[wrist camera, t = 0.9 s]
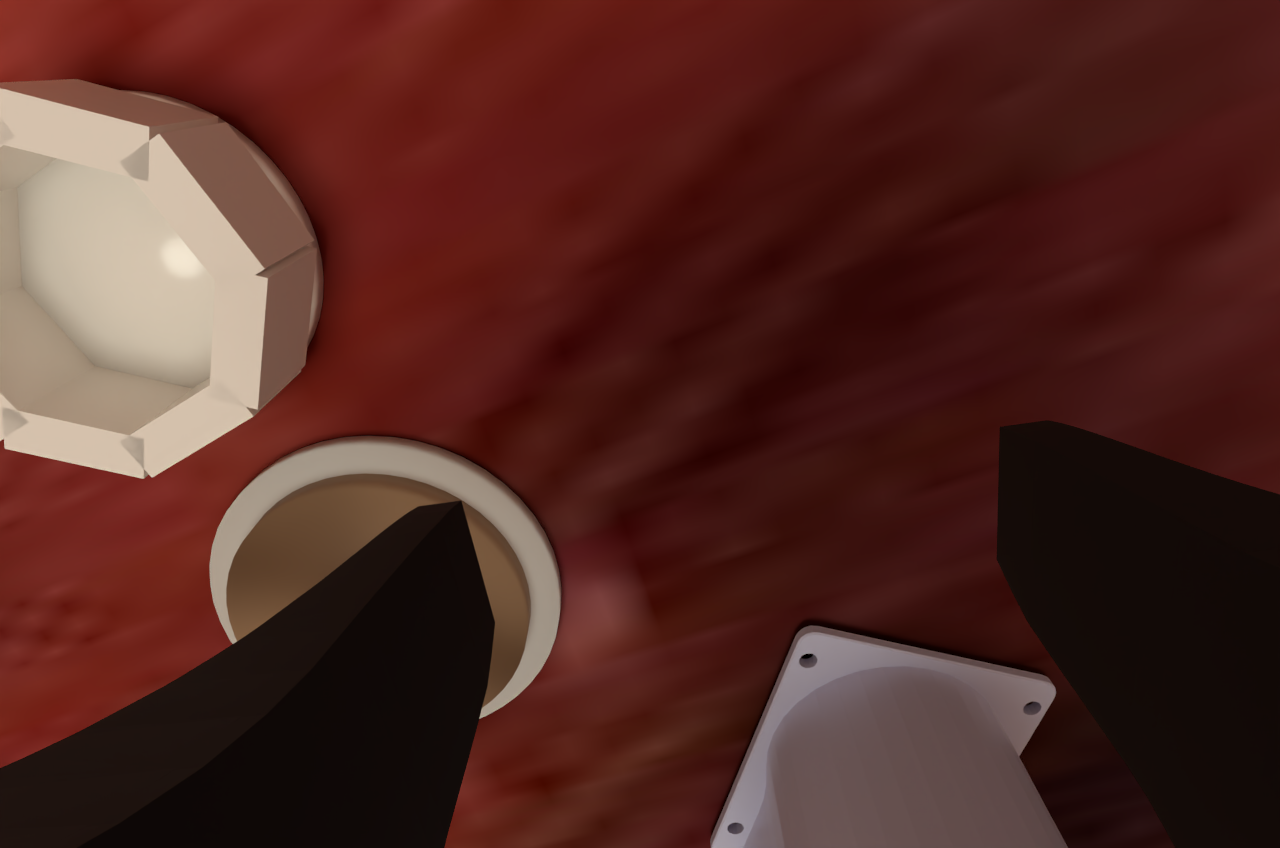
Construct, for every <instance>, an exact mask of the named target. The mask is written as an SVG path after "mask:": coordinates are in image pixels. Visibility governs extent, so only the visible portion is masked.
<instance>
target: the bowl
mask: <svg viewBox="0 0 1280 848" xmlns="http://www.w3.org/2000/svg"><path fill="white" fill-rule="evenodd" d="M323 286H324V277H323V267H322V259H321V254H320V250H319V246H318V241H317V238H316V235H315V232H314V229H313V227H312V224H311V221H310V218H309V216H308V214H307V212H306V210H305V208H304V206H303V204H302V202H301V200H300V198H299V197H298V195H297V194H296V192H295V191H294V189H293V187H292V186H291V184H290V183H289V181H288V180H287V178H286V177H285V176H284V175H283V173H282V172H281V171H280V170H279V168H278V167H277V166H276V165H275V164H274V162H273V161H272V160H271V159H270V158H269V157H268V156H267V155H266V154H265V153H264V152H263V151H262V150H261V149H260V148H259V147H258V146H257V145H256V144H255V143H254V142H253V141H251V140H250V139H249V138H247V137H246V136H245V135H244V134H242V133H241V132H240V131H238V130H237V129H236V128H235V127H233V126H232V125H230V124H228V123H227V122H225V121H223V120H222V119H220V118H219V117H218V116H215V115H214V114H212V113H210V112H208V111H206V110H203V109H201V108H199V107H197V106H195V105H193V104H191V103H188V102H185V101H182V100H179V99H175V98H172V97H169V96H165V95H160V94H155V93H150V92H145V91H130V90H116V89H113V88H109V87H105V86H101V85H97V84H94V83H90V82H86V81H82V80H79V79H65V80H44V81H24V82H3V83H0V441H1V440H3V439H4V445H5V449H9V450H14V451H18V452H23V453H27V454H32V455H37V456H41V457H46V458H50V459H55V460H60V461H64V462H69V463H73V464H78V465H83V466H87V467H92V468H96V469H101V470H106V471H110V472H115V473H119V474H124V475H129V476H133V477H138V478H142V479H144V478H145V477H146V476H147V475H150V476H151V477H154V476H156V475H157V474H159V473H161V472H162V471H164V470H166V469H167V468H169V467H171V466H172V465H174V464H176V463H177V462H179V461H180V460H182V459H184V458H185V457H187V456H189V455H190V454H192V453H194V452H195V451H197V450H199V449H200V448H202V447H204V446H205V445H207V444H209V443H210V442H212V441H214V440H215V439H217V438H219V437H220V436H222V435H224V434H225V433H227V432H228V431H230V430H232V429H233V428H235V427H237V426H238V425H240V424H242V423H243V422H245V421H247V420H248V419H250V418H252V417H253V416H254V415H256V414H257V413H258V412H259V411H260V410H261V409H262V408H263V407H264V406H265V405H266V404H267V403H268V402H269V401H270V400H271V399H273V398H274V397H275V396H276V395H277V394H278V393H279V392H280V391H281V390H282V389H283V388H284V387H285V386H286V385H287V384H288V383H290V382H291V381H292V380H293V379H294V378H295V377H296V376H297V375H298V374H299V373H300V372H301V369H302V368H303V367H304V366H305V363H306V353H307V347H308V345H309V344H310V342H311V340H312V338H313V336H314V333H315V330H316V327H317V324H318V321H319V318H320V313H321V308H322V302H323Z"/></svg>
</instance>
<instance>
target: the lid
mask: <svg viewBox="0 0 1280 848" xmlns="http://www.w3.org/2000/svg"><path fill="white" fill-rule="evenodd" d="M454 501H462V500H461V499H459V498H457V497H455V496H453V495H451V494H450V493H448V492H446V491H444V490H441V489H439V488H436V487H434V486H431V485H429V484H426V483H423V482H419V481H416V480H412V479H409V478H404V477H398V476H392V475H385V474H350V475H342V476H337V477H331V478H326V479H323V480H320V481H317V482H314V483H311V484H308V485H306V486H304V487H302V488H300V489H298V490H295V491H293V492H292V493H290V494H289V495H287V496H286V497H284V498H283V499H281V500H280V501H278V502H277V503H276V504H275V505H274V506H273V507H271V508H270V509H269V510H268V511H267V512H266V513H265V514H264V515H263V517H262V518H261V519H260V520H259V521H258V523H257V524H256V525H255V526H254V528H253V529H252V530H251V531H250V533H249V534H248V535H247V536H246V538H245V539H244V540H243V542H242V543H241V545H240V547H239V548H238V550H237V552H236V554H235V556H234V558H233V561H232V564H231V567H230V570H229V573H228V580H227V586H226V604H227V610H228V616H229V621H230V624H231V627H232V630H233V633H234V636H235V638H236V640H237V641H239V640H240V639H242V638H243V637H245V636H246V635H247V634H249V633H250V632H252V631H253V630H255V629H256V628H258V627H259V626H260V625H262V624H263V623H265V622H266V621H267V620H269V619H270V618H271V617H273V616H274V615H275V614H277V613H278V612H279V611H281V610H282V609H283V608H285V607H286V606H288V605H289V604H290V603H292V602H293V601H294V600H296V599H297V598H298V597H300V596H301V595H302V594H304V593H305V592H307V591H308V590H309V589H311V588H312V587H313V586H315V585H316V584H317V583H319V582H320V581H321V580H322V579H324V578H325V577H326V576H327V575H329V574H330V573H331V572H332V571H334V570H335V569H336V568H337V567H339V566H340V565H341V564H342V563H344V562H345V561H346V560H347V559H349V558H350V557H351V556H353V555H354V554H355V553H356V552H358V551H359V550H360V549H361V548H363V547H364V546H365V545H366V544H367V543H369V542H370V541H371V540H372V539H374V538H375V537H376V536H377V535H379V534H380V533H381V532H383V531H384V530H385V529H386V528H388V527H389V526H390V525H391V524H393V523H394V522H395V521H397V520H398V519H399V518H401V517H402V516H404V515H405V514H407V513H408V512H410V511H411V510H413V509H415V508H416V507H418V506H424V505H432V504H439V503H446V502H454ZM462 504H463V508H464V512H465V515H466V519H467V522H468V526H469V530H470V533H471V537H472V541H473V544H474V548H475V551H476V555H477V559H478V562H479V566H480V569H481V573H482V577H483V580H484V584H485V587H486V591H487V595H488V598H489V602H490V605H491V609H492V613H493V616H494V620H495V629H494V638H493V648H492V657H491V664H490V672H489V679H488V686H487V690H486V694H485V698H484V702H483V706H482V708H483V707H484V706H485V705H487V704H488V703H489V702H491V701H492V700H493V699H494V698H495V697H496V696H497V695H498V694H499V693H500V692H501V691H502V690H503V689H504V688H505V687H506V685H507V684H508V683H509V681H510V680H511V679H512V677H513V675H514V673H515V672H516V670H517V668H518V666H519V664H520V661H521V658H522V655H523V653H524V650H525V644H526V639H527V634H528V629H529V623H530V617H531V600H530V593H529V587H528V583H527V579H526V576H525V573H524V570H523V568H522V566H521V564H520V561H519V559H518V557H517V555H516V553H515V552H514V550H513V549H512V547H511V546H510V544H509V543H508V541H507V540H506V539H505V537H504V536H503V535H502V534H501V533H500V532H499V531H498V529H497V528H496V527H495V526H494V525H493V524H492V523H491V522H490V521H489V520H488V519H486V518H485V517H484V516H483V515H482V514H481V513H480V512H478V511H477V510H475V509H474V508H473V507H471V506H470V505H468V504H467V503H466V502H464V501H462Z"/></svg>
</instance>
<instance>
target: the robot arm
mask: <svg viewBox="0 0 1280 848" xmlns="http://www.w3.org/2000/svg"><path fill="white" fill-rule="evenodd" d="M997 561H998V563H999V565H1000V567H1001V569H1002V571H1003V573H1004V576H1005V578H1006V580H1007V582H1008V584H1009V586H1010V588H1011V590H1012V592H1013V594H1014V596H1015V598H1016V600H1017V602H1018V604H1019V606H1020V608H1021V610H1022V612H1023V614H1024V616H1025V618H1026V620H1027V621H1028V623H1029V624H1030V626H1031V627H1032V629H1033V630H1034V632H1035V633H1036V635H1037V636H1038V638H1039V639H1040V641H1041V642H1042V644H1043V645H1044V647H1045V648H1046V650H1047V651H1048V653H1049V654H1050V655H1051V657H1052V658H1053V660H1054V661H1055V663H1056V664H1057V666H1058V667H1059V669H1060V670H1061V671H1062V673H1063V674H1064V676H1065V677H1066V679H1067V680H1068V681H1069V683H1070V684H1071V686H1072V687H1073V689H1074V690H1075V691H1076V693H1077V694H1078V696H1079V697H1080V699H1081V700H1082V701H1083V703H1084V704H1085V706H1086V707H1087V709H1088V710H1089V711H1090V713H1091V714H1092V716H1093V717H1094V719H1095V720H1096V721H1097V723H1098V724H1099V726H1100V727H1101V729H1102V730H1103V731H1104V733H1105V734H1106V736H1107V737H1108V739H1109V740H1110V741H1111V743H1112V744H1113V746H1114V747H1115V749H1116V750H1117V751H1118V753H1119V754H1120V756H1121V757H1122V759H1123V760H1124V761H1125V763H1126V764H1127V766H1128V768H1129V769H1130V771H1131V772H1132V774H1133V775H1134V777H1135V779H1136V780H1137V782H1138V783H1139V785H1140V786H1141V788H1142V790H1143V791H1144V793H1145V794H1146V796H1147V797H1148V799H1149V801H1150V803H1151V804H1152V806H1153V808H1154V810H1155V812H1156V813H1157V815H1158V817H1159V819H1160V821H1161V823H1162V824H1163V826H1164V828H1165V830H1166V832H1167V833H1168V835H1169V837H1170V839H1171V841H1172V842H1173V844H1174V846H1175V848H1280V495H1279V494H1276V493H1272V492H1269V491H1266V490H1262V489H1259V488H1256V487H1252V486H1249V485H1246V484H1242V483H1239V482H1236V481H1233V480H1230V479H1227V478H1224V477H1220V476H1217V475H1214V474H1211V473H1208V472H1205V471H1202V470H1199V469H1196V468H1193V467H1190V466H1187V465H1184V464H1182V463H1179V462H1176V461H1173V460H1170V459H1167V458H1164V457H1161V456H1158V455H1156V454H1153V453H1150V452H1147V451H1144V450H1141V449H1139V448H1136V447H1133V446H1130V445H1127V444H1124V443H1121V442H1119V441H1116V440H1113V439H1110V438H1107V437H1104V436H1101V435H1098V434H1095V433H1092V432H1089V431H1086V430H1083V429H1080V428H1076V427H1073V426H1070V425H1066V424H1062V423H1058V422H1053V421H1040V422H1033V423H1026V424H1018V425H1011V426H1004V427H1000V445H999V487H998V529H997ZM494 629H495V620H494V616H493V613H492V609H491V605H490V602H489V598H488V595H487V591H486V587H485V584H484V580H483V577H482V573H481V569H480V566H479V562H478V559H477V555H476V551H475V548H474V544H473V541H472V537H471V533H470V530H469V526H468V522H467V519H466V515H465V512H464V508H463V504H462V501H454V502H446V503H439V504H432V505H424V506H418V507H416V508H415V509H413V510H411V511H410V512H408V513H407V514H405V515H404V516H402V517H401V518H399V519H398V520H397V521H395V522H394V523H393V524H391V525H390V526H389V527H388V528H386V529H385V530H384V531H383V532H381V533H380V534H379V535H377V536H376V537H375V538H374V539H372V540H371V541H370V542H369V543H367V544H366V545H365V546H364V547H363V548H361V549H360V550H359V551H358V552H356V553H355V554H354V555H353V556H351V557H350V558H349V559H347V560H346V561H345V562H344V563H342V564H341V565H340V566H339V567H337V568H336V569H335V570H334V571H332V572H331V573H330V574H329V575H327V576H326V577H325V578H324V579H322V580H321V581H320V582H319V583H317V584H316V585H315V586H313V587H312V588H311V589H309V590H308V591H307V592H305V593H304V594H302V595H301V596H300V597H298V598H297V599H296V600H294V601H293V602H292V603H290V604H289V605H288V606H286V607H285V608H283V609H282V610H281V611H279V612H278V613H277V614H275V615H274V616H273V617H271V618H270V619H269V620H267V621H266V622H265V623H263V624H262V625H260V626H259V627H258V628H256V629H255V630H253V631H252V632H250V633H249V634H247V635H246V636H245V637H243V638H242V639H240V640H239V641H237V642H236V643H234V644H232V645H231V646H229V647H228V648H226V649H225V650H223V651H222V652H220V653H219V654H217V655H215V656H214V657H212V658H210V659H209V660H207V661H206V662H204V663H202V664H201V665H199V666H197V667H196V668H194V669H193V670H191V671H189V672H188V673H186V674H184V675H183V676H181V677H179V678H178V679H176V680H174V681H173V682H171V683H169V684H167V685H166V686H164V687H162V688H160V689H158V690H157V691H155V692H153V693H151V694H149V695H147V696H145V697H143V698H142V699H140V700H138V701H136V702H134V703H132V704H130V705H128V706H127V707H125V708H123V709H121V710H119V711H117V712H115V713H113V714H112V715H110V716H108V717H106V718H104V719H102V720H100V721H98V722H97V723H95V724H93V725H91V726H89V727H87V728H85V729H83V730H81V731H79V732H77V733H75V734H73V735H71V736H69V737H67V738H65V739H63V740H61V741H59V742H57V743H54V744H52V745H50V746H48V747H46V748H44V749H42V750H40V751H37V752H35V753H33V754H31V755H29V756H27V757H25V758H23V759H20V760H18V761H16V762H14V763H11V764H9V765H7V766H4V767H2V768H0V848H444V847H445V842H446V838H447V834H448V831H449V827H450V823H451V820H452V816H453V812H454V809H455V805H456V802H457V798H458V794H459V791H460V787H461V783H462V780H463V776H464V772H465V769H466V765H467V762H468V758H469V754H470V751H471V747H472V743H473V740H474V736H475V732H476V729H477V725H478V721H479V717H480V714H481V710H482V706H483V702H484V698H485V694H486V690H487V686H488V679H489V672H490V664H491V657H492V648H493V638H494ZM805 654H813V656H812V657H810V658H808V659H802V658H801V656H802V655H805ZM1055 695H1056V689H1055V687H1054V685H1053V683H1052V682H1051V680H1050V679H1049V678H1048V677H1046V676H1044V675H1041V674H1037V673H1032V672H1028V671H1023V670H1018V669H1014V668H1009V667H1005V666H1000V665H995V664H991V663H986V662H982V661H977V660H972V659H968V658H963V657H959V656H954V655H949V654H945V653H940V652H936V651H931V650H926V649H922V648H917V647H913V646H908V645H903V644H899V643H894V642H890V641H885V640H880V639H876V638H871V637H867V636H862V635H857V634H853V633H848V632H844V631H839V630H834V629H830V628H825V627H821V626H807V627H804V628H803V629H801V630H800V631H798V633H797V634H796V636H795V638H794V640H793V643H792V645H791V648H790V650H789V652H788V655H787V657H786V660H785V662H784V664H783V667H782V669H781V671H780V674H779V676H778V679H777V681H776V683H775V686H774V688H773V691H772V693H771V695H770V698H769V700H768V702H767V705H766V707H765V710H764V712H763V714H762V717H761V719H760V722H759V724H758V726H757V729H756V731H755V733H754V736H753V738H752V741H751V743H750V745H749V748H748V750H747V753H746V755H745V757H744V760H743V762H742V764H741V767H740V769H739V772H738V774H737V776H736V779H735V781H734V784H733V786H732V788H731V791H730V793H729V795H728V798H727V800H726V803H725V805H724V807H723V810H722V812H721V815H720V817H719V819H718V822H717V824H716V826H715V829H714V831H713V834H712V836H711V840H710V844H711V848H1068V847H1067V845H1066V843H1065V841H1064V840H1063V838H1062V836H1061V834H1060V832H1059V830H1058V828H1057V827H1056V825H1055V823H1054V821H1053V819H1052V817H1051V815H1050V814H1049V812H1048V810H1047V808H1046V806H1045V804H1044V802H1043V800H1042V799H1041V797H1040V795H1039V793H1038V791H1037V789H1036V787H1035V786H1034V784H1033V782H1032V780H1031V778H1030V776H1029V774H1028V773H1027V771H1026V769H1025V767H1024V765H1023V763H1022V761H1021V759H1020V758H1019V756H1020V754H1021V753H1022V751H1023V749H1024V748H1025V746H1026V744H1027V743H1028V741H1029V739H1030V738H1031V736H1032V734H1033V733H1034V731H1035V729H1036V728H1037V726H1038V724H1039V723H1040V721H1041V719H1042V718H1043V716H1044V715H1045V713H1046V711H1047V710H1048V708H1049V706H1050V705H1051V703H1052V701H1053V700H1054V698H1055ZM1029 702H1033V703H1032V704H1030V705H1027V706H1025V705H1026V704H1027V703H1029ZM732 823H736V824H732Z"/></svg>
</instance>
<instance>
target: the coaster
mask: <svg viewBox="0 0 1280 848" xmlns="http://www.w3.org/2000/svg"><path fill="white" fill-rule="evenodd" d="M350 474H385V475H392V476H398V477H404V478H409V479H412V480H416V481H419V482H423V483H426V484H429V485H431V486H434V487H436V488H439V489H441V490H444V491H446V492H448V493H450V494H451V495H453V496H455V497H457V498H459V499H461V500H462V501H464V502H466V503H467V504H468V505H470V506H471V507H473V508H474V509H475V510H477V511H478V512H480V513H481V514H482V515H483V516H484V517H485V518H486V519H488V520H489V521H490V522H491V523H492V524H493V525H494V526H495V527H496V528H497V529H498V531H499V532H500V533H501V534H502V535H503V536H504V537H505V539H506V540H507V541H508V543H509V544H510V546H511V547H512V549H513V550H514V552H515V553H516V555H517V557H518V559H519V561H520V564H521V566H522V568H523V570H524V573H525V576H526V579H527V583H528V587H529V593H530V600H531V617H530V623H529V629H528V634H527V639H526V644H525V650H524V653H523V655H522V658H521V661H520V664H519V666H518V668H517V670H516V672H515V673H514V675H513V677H512V679H511V680H510V681H509V683H508V684H507V685H506V687H505V688H504V689H503V690H502V691H501V692H500V693H499V694H498V695H497V696H496V697H495V698H494V699H493V700H492V701H491V702H489V703H488V704H487V705H485V706H484V707H483V708H482V710H481V714H480V717H479V719H480V718H482V717H485V716H487V715H488V714H490V713H492V712H494V711H496V710H498V709H499V708H501V707H503V706H504V705H506V704H507V703H508V702H510V701H511V700H512V699H514V698H515V697H517V696H518V695H519V694H520V693H521V692H522V691H523V690H524V689H525V688H526V687H527V686H528V685H529V684H530V683H531V682H532V680H533V679H534V678H535V677H536V675H537V674H538V673H539V671H540V670H541V669H542V667H543V665H544V663H545V661H546V660H547V658H548V656H549V654H550V652H551V649H552V646H553V643H554V641H555V638H556V633H557V628H558V623H559V617H560V610H561V581H560V573H559V568H558V564H557V561H556V557H555V554H554V551H553V548H552V546H551V544H550V542H549V540H548V538H547V535H546V533H545V531H544V530H543V528H542V527H541V525H540V524H539V522H538V520H537V519H536V517H535V516H534V514H533V513H532V512H531V511H530V510H529V508H528V507H527V506H526V505H525V504H524V502H523V501H522V500H521V499H520V498H519V497H518V496H517V495H516V494H515V493H514V492H513V491H512V490H511V489H509V488H508V487H507V486H506V485H505V484H504V483H503V482H502V481H500V480H499V479H497V478H496V477H495V476H493V475H492V474H491V473H489V472H488V471H486V470H485V469H483V468H482V467H480V466H478V465H476V464H475V463H473V462H471V461H469V460H467V459H466V458H464V457H462V456H459V455H457V454H454V453H452V452H450V451H447V450H445V449H442V448H440V447H436V446H433V445H429V444H426V443H423V442H419V441H415V440H409V439H403V438H397V437H388V436H370V435H368V436H352V437H342V438H337V439H332V440H326V441H321V442H318V443H315V444H312V445H309V446H306V447H303V448H300V449H298V450H296V451H294V452H292V453H290V454H288V455H286V456H284V457H282V458H280V459H279V460H277V461H276V462H274V463H273V464H272V465H270V466H269V467H267V468H266V469H264V470H263V471H262V472H261V473H260V474H259V475H258V476H257V477H256V478H255V479H254V480H253V481H251V482H250V483H249V484H248V485H247V487H246V488H245V489H244V490H243V491H242V492H241V493H240V494H239V496H238V497H237V498H236V499H235V501H234V502H233V503H232V505H231V506H230V507H229V509H228V510H227V512H226V514H225V515H224V517H223V519H222V521H221V523H220V525H219V527H218V530H217V533H216V536H215V539H214V542H213V545H212V551H211V559H210V585H211V591H212V596H213V602H214V605H215V608H216V611H217V614H218V616H219V619H220V622H221V624H222V626H223V628H224V630H225V632H226V634H227V636H228V637H229V639H230V641H231V642H232V644H234V643H236V642H237V640H236V638H235V636H234V633H233V630H232V627H231V624H230V621H229V616H228V610H227V604H226V586H227V580H228V573H229V570H230V567H231V564H232V561H233V558H234V556H235V554H236V552H237V550H238V548H239V547H240V545H241V543H242V542H243V540H244V539H245V538H246V536H247V535H248V534H249V533H250V531H251V530H252V529H253V528H254V526H255V525H256V524H257V523H258V521H259V520H260V519H261V518H262V517H263V515H264V514H265V513H266V512H267V511H268V510H269V509H270V508H271V507H273V506H274V505H275V504H276V503H277V502H278V501H280V500H281V499H283V498H284V497H286V496H287V495H289V494H290V493H292V492H293V491H295V490H298V489H300V488H302V487H304V486H306V485H308V484H311V483H314V482H317V481H320V480H323V479H326V478H331V477H337V476H342V475H350Z"/></svg>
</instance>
